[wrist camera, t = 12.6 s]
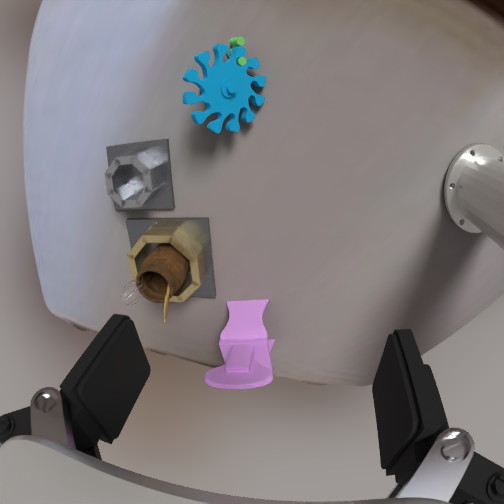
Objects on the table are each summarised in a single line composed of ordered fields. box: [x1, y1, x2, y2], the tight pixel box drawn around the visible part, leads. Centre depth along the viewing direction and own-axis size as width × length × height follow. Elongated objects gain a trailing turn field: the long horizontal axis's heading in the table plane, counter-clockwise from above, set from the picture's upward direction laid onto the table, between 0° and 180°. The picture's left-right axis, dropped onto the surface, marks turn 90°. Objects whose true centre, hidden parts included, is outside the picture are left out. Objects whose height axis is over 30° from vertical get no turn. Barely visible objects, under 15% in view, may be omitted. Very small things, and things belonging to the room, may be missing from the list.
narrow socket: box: [105, 139, 175, 210], centre depth 35 cm, size 9×9×4 cm
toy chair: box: [205, 299, 275, 389], centre depth 39 cm, size 8×9×15 cm
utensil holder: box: [121, 243, 191, 322], centre depth 36 cm, size 6×6×12 cm
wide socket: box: [126, 218, 216, 303], centre depth 40 cm, size 12×12×4 cm
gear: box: [183, 37, 265, 133], centre depth 29 cm, size 11×6×10 cm
